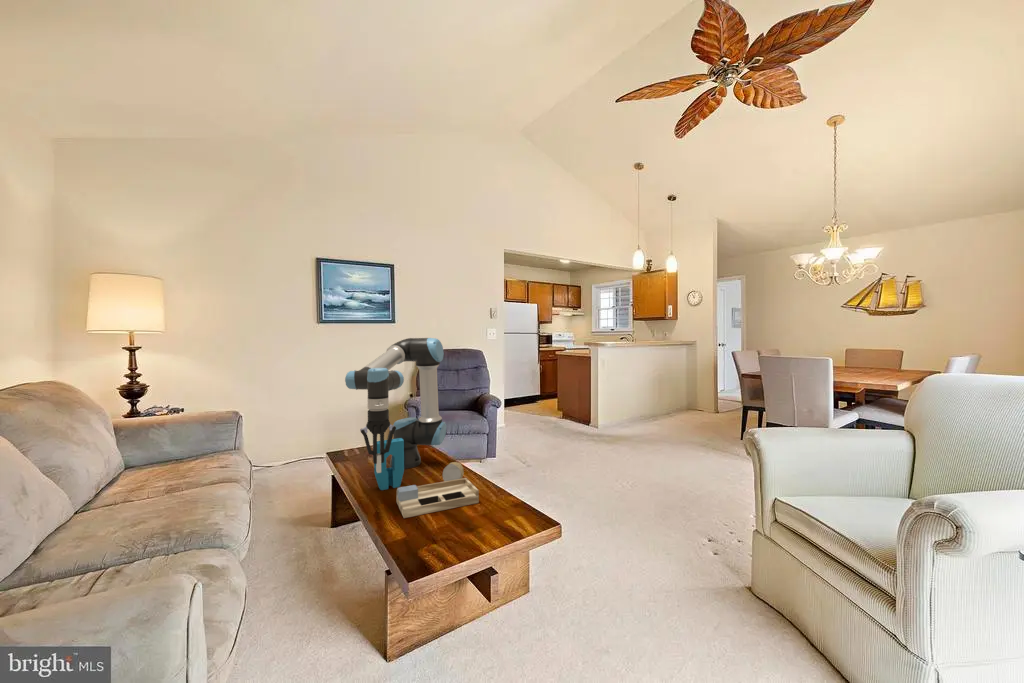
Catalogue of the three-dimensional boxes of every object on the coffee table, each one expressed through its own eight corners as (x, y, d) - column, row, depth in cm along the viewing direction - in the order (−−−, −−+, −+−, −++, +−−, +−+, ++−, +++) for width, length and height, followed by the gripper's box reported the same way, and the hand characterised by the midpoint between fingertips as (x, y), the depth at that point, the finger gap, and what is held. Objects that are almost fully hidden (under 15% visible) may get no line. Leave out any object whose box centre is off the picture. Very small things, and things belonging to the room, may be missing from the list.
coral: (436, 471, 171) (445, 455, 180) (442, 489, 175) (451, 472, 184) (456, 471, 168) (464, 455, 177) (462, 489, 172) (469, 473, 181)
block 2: (402, 482, 177) (401, 437, 177) (404, 485, 173) (404, 440, 172) (374, 487, 171) (373, 441, 171) (376, 491, 167) (375, 444, 167)
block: (397, 496, 154) (397, 487, 154) (415, 493, 157) (415, 484, 157) (399, 501, 150) (399, 492, 150) (418, 498, 153) (418, 489, 153)
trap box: (396, 502, 156) (396, 489, 156) (466, 489, 169) (466, 477, 168) (403, 518, 142) (403, 504, 142) (478, 502, 155) (478, 490, 155)
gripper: (360, 412, 142) (361, 477, 142) (397, 409, 147) (398, 472, 148) (358, 409, 149) (359, 471, 149) (394, 406, 154) (394, 466, 154)
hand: (378, 471), depth 148 cm, fingers closed
